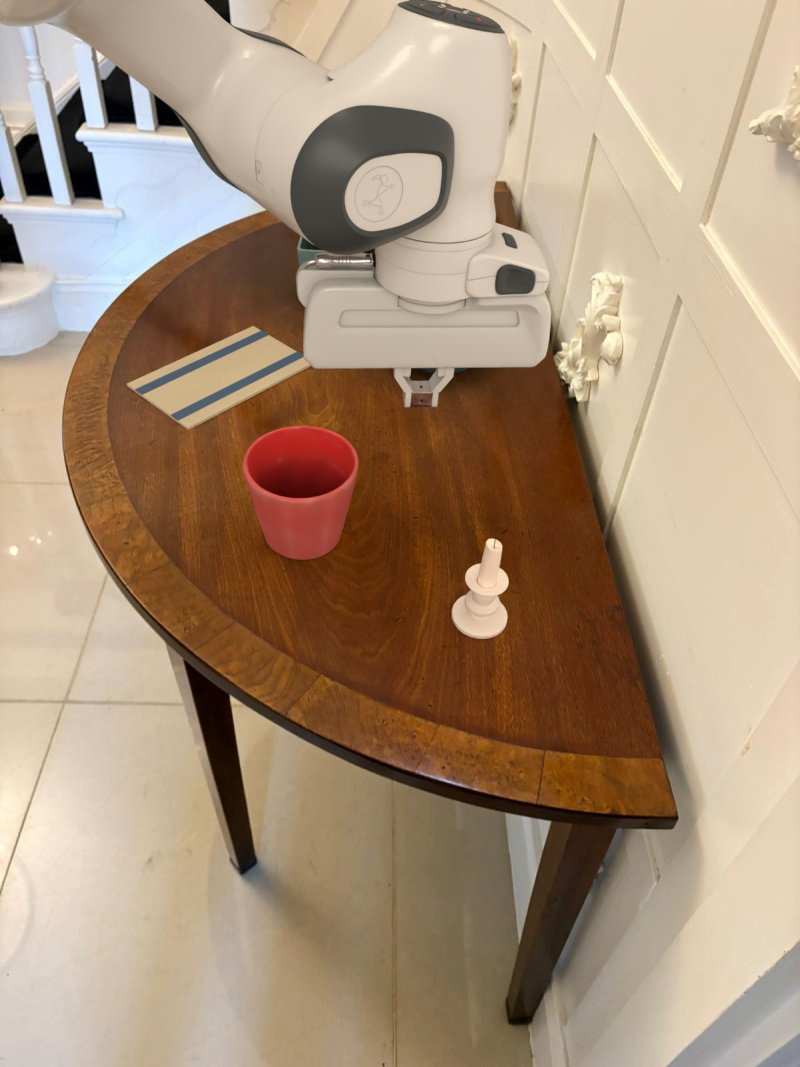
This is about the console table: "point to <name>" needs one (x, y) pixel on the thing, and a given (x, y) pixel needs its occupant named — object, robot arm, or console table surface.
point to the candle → (483, 597)
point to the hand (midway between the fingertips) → (419, 403)
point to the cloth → (219, 376)
